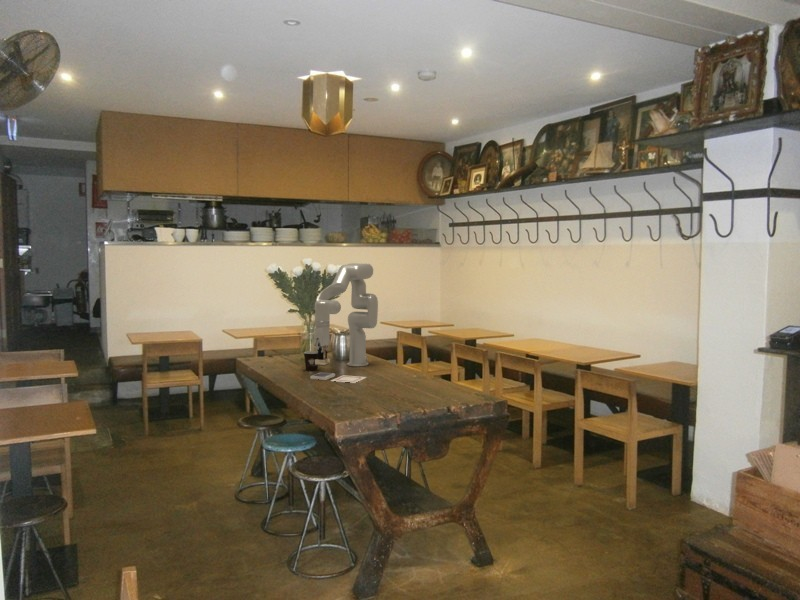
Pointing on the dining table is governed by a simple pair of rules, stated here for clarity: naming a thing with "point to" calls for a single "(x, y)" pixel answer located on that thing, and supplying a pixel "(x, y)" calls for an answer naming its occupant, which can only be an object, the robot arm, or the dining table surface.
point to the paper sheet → (348, 379)
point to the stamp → (324, 361)
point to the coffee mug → (311, 360)
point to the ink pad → (322, 376)
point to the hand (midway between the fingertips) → (322, 358)
